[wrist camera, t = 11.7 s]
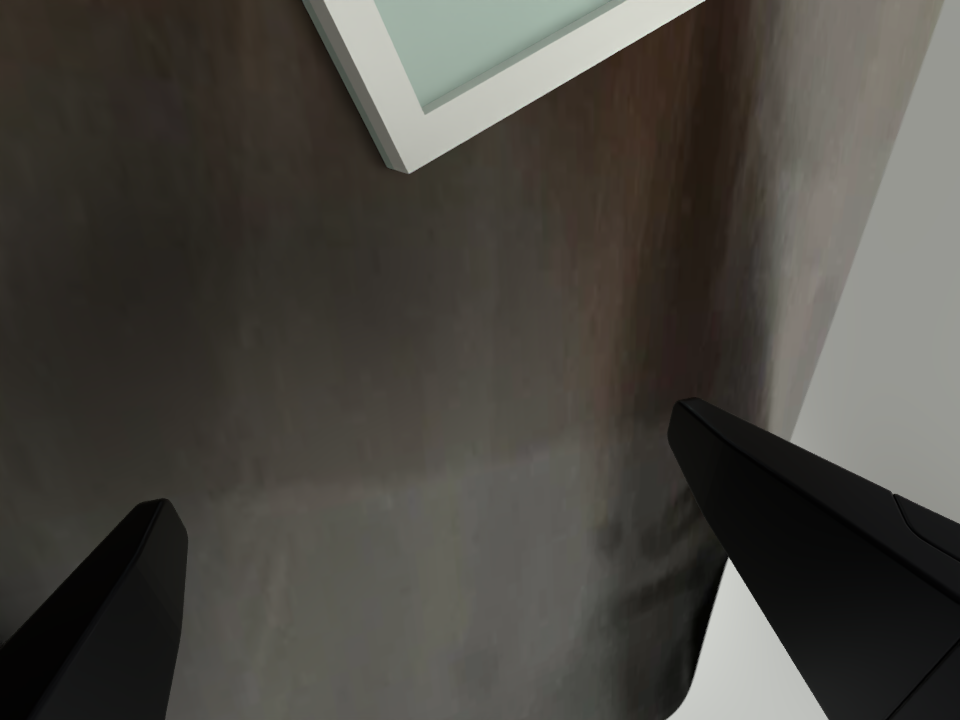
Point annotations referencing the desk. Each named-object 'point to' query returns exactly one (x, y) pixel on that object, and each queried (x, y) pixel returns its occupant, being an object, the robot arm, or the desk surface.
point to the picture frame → (467, 60)
